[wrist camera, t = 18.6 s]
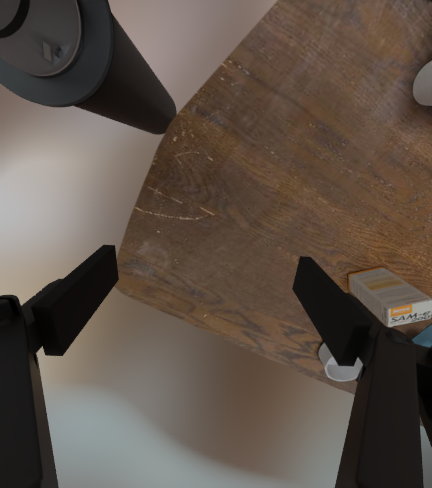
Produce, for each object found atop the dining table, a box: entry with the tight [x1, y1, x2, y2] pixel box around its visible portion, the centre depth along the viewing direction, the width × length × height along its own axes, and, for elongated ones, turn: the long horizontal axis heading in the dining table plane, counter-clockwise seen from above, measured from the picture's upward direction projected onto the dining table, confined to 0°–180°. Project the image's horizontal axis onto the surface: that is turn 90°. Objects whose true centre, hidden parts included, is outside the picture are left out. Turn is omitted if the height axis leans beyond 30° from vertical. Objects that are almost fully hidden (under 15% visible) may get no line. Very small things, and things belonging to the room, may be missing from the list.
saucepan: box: [319, 343, 363, 381], centre depth 57 cm, size 12×20×6 cm, turn 148°
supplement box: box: [348, 266, 432, 327], centre depth 47 cm, size 8×5×13 cm, turn 104°
